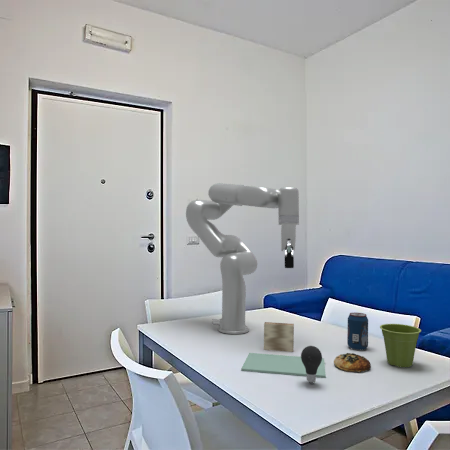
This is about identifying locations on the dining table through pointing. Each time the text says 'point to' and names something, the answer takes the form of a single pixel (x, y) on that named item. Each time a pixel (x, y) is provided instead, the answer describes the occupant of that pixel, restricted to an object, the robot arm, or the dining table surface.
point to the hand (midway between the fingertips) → (289, 266)
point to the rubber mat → (279, 365)
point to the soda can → (357, 331)
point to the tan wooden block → (278, 336)
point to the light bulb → (311, 362)
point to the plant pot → (400, 343)
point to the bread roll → (352, 363)
